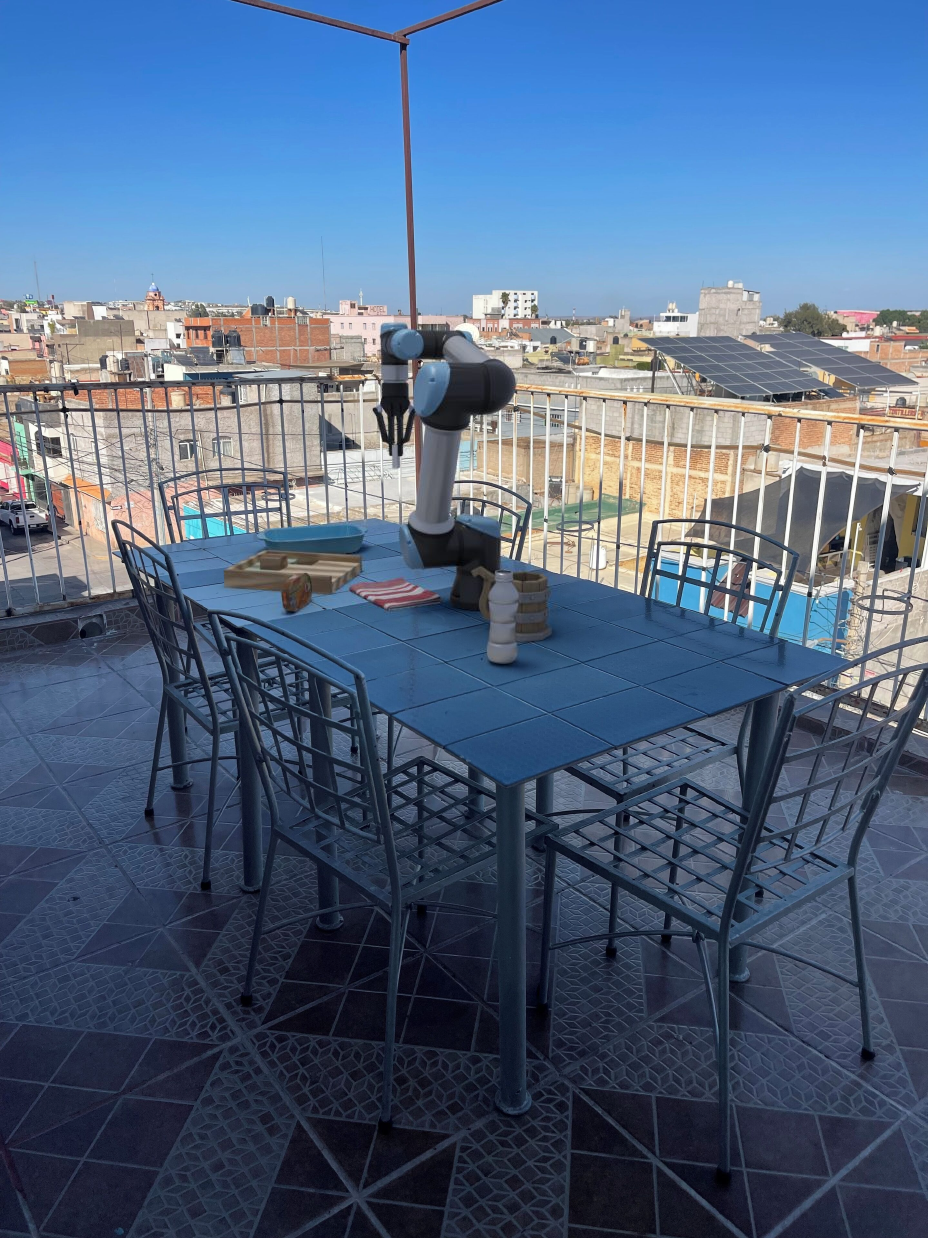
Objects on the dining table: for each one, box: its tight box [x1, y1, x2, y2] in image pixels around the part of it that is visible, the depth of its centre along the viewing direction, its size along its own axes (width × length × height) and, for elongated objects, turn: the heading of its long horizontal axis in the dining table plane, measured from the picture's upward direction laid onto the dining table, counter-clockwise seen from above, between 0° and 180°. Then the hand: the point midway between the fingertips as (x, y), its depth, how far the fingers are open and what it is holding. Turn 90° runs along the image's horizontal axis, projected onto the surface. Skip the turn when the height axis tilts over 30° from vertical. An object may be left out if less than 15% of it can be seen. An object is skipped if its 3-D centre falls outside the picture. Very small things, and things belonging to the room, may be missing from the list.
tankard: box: [471, 566, 553, 643], centre depth 202 cm, size 20×13×15 cm, turn 59°
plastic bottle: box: [486, 569, 519, 665], centre depth 180 cm, size 6×7×20 cm
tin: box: [280, 573, 313, 613], centre depth 220 cm, size 15×3×8 cm, turn 168°
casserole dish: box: [256, 523, 369, 555], centre depth 284 cm, size 37×22×7 cm, turn 110°
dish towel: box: [348, 576, 442, 612], centre depth 232 cm, size 17×23×3 cm
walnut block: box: [259, 554, 288, 571], centre depth 249 cm, size 6×6×4 cm
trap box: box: [223, 549, 363, 595], centre depth 248 cm, size 27×32×5 cm
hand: (396, 467), depth 241 cm, fingers closed
